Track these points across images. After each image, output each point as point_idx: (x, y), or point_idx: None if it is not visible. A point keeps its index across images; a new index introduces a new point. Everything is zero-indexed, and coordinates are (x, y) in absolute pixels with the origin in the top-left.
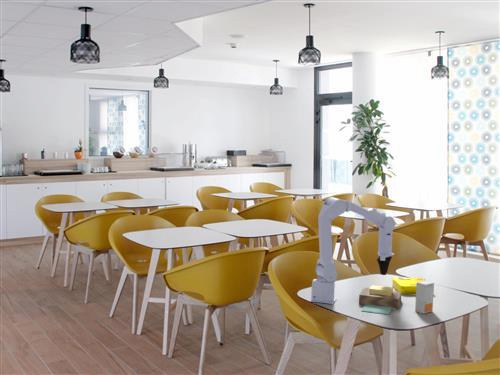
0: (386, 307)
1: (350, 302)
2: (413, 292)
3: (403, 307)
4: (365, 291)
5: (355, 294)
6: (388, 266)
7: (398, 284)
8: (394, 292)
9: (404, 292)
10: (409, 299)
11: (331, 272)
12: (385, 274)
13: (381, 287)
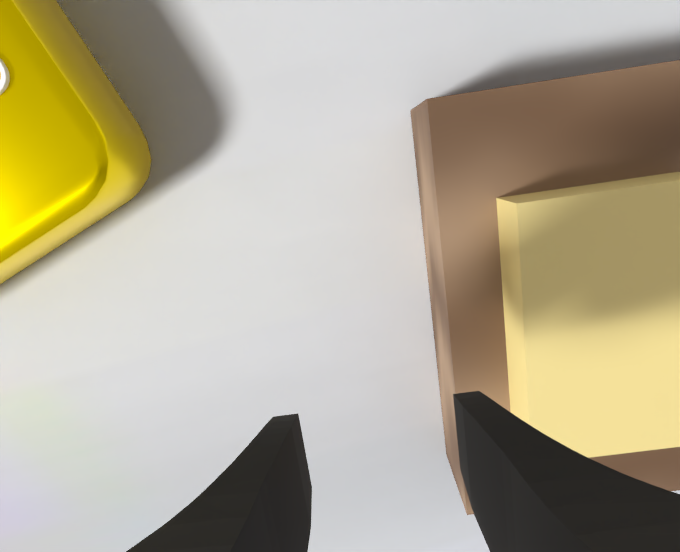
0: None
1: (675, 492)
2: (74, 43)
3: (633, 27)
4: (616, 461)
5: (417, 524)
6: (246, 473)
7: (46, 236)
8: (503, 172)
9: (138, 140)
10: (304, 41)
11: None
12: (487, 397)
13: (587, 334)
